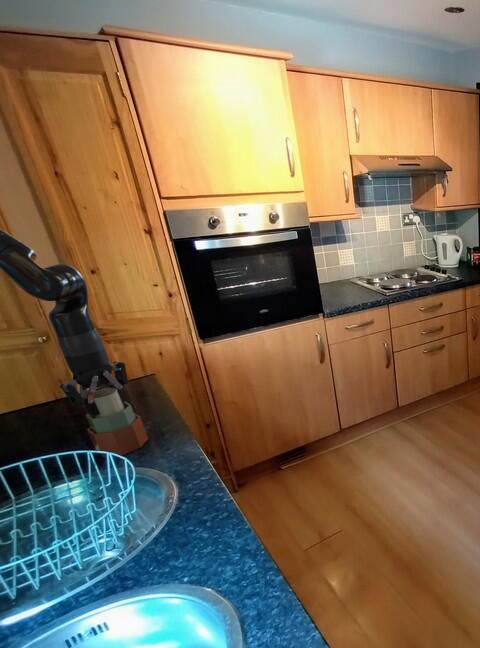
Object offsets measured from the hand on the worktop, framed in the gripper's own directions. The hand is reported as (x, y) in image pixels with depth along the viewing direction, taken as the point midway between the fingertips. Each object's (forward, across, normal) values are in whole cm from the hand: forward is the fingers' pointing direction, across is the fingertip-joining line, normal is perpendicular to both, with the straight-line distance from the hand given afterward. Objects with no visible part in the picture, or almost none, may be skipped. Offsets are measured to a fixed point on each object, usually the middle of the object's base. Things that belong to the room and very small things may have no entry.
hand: (108, 408), depth 116 cm
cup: (+5, 0, 0) cm, 5 cm away
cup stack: (+11, 0, 0) cm, 11 cm away
